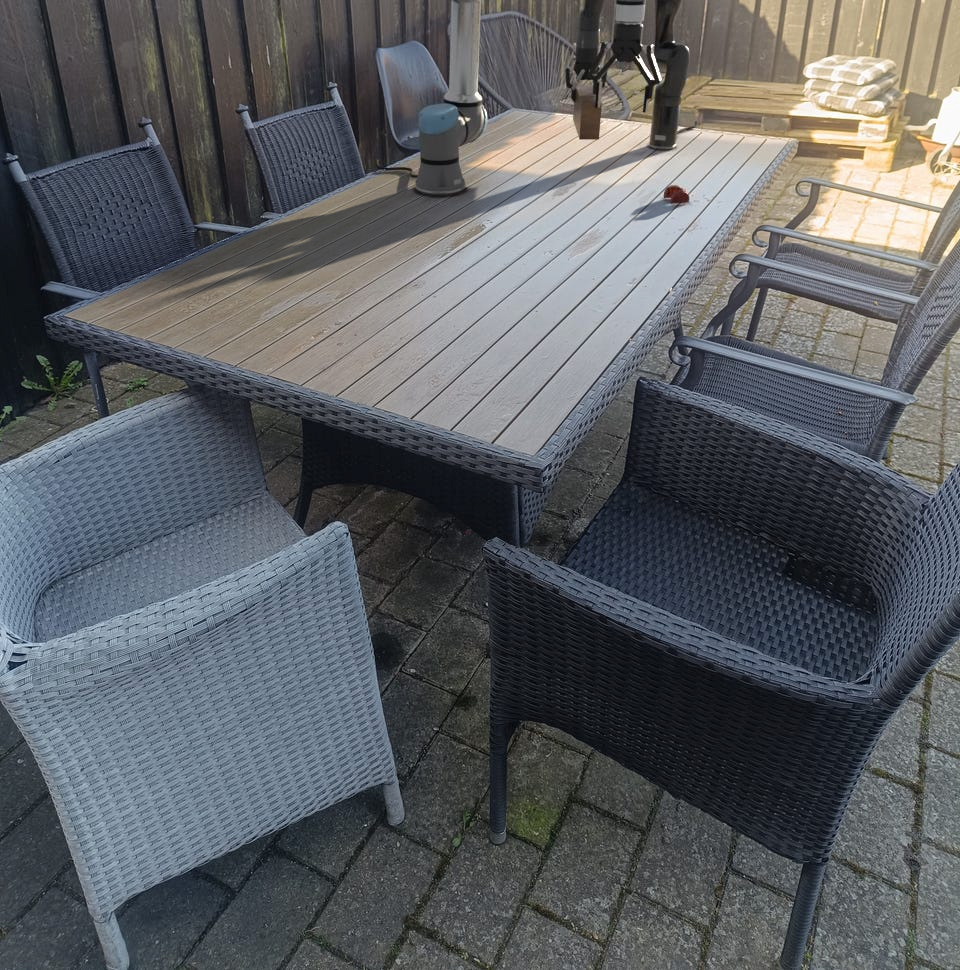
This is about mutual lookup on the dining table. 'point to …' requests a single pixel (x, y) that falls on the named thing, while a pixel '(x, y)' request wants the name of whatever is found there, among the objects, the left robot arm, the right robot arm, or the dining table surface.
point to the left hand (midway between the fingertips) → (621, 109)
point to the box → (586, 113)
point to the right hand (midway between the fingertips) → (584, 101)
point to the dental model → (676, 194)
